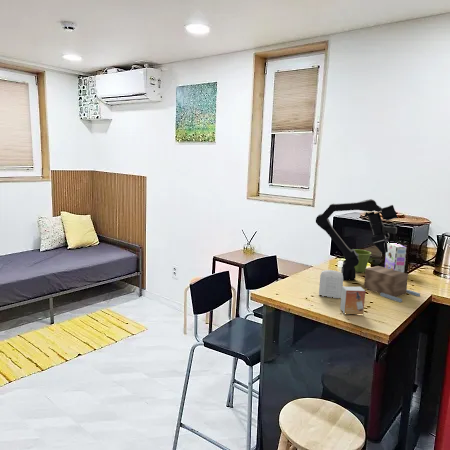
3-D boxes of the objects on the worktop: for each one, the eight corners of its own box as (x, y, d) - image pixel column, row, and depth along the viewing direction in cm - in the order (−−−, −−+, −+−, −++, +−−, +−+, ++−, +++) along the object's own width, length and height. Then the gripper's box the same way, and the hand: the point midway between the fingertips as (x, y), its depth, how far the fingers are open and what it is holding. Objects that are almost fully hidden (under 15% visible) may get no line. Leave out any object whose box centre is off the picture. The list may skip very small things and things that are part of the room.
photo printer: (342, 296, 178) (343, 270, 176) (341, 299, 174) (343, 272, 172) (319, 293, 181) (320, 268, 179) (318, 296, 177) (320, 270, 175)
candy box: (404, 276, 212) (407, 247, 209) (393, 276, 212) (396, 246, 209) (394, 269, 225) (396, 241, 223) (383, 269, 225) (386, 241, 223)
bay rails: (380, 295, 180) (380, 293, 180) (400, 289, 189) (400, 287, 189) (399, 302, 172) (400, 299, 172) (419, 295, 181) (420, 293, 181)
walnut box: (364, 288, 191) (365, 268, 189) (376, 284, 197) (378, 265, 195) (393, 298, 178) (395, 277, 176) (406, 294, 184) (408, 273, 182)
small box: (343, 315, 156) (345, 290, 155) (339, 310, 162) (341, 285, 160) (363, 315, 156) (365, 290, 155) (359, 310, 162) (360, 286, 160)
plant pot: (366, 275, 213) (368, 255, 211) (345, 271, 219) (346, 252, 217) (372, 270, 223) (373, 251, 221) (351, 266, 229) (352, 248, 227)
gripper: (390, 220, 184) (401, 251, 183) (394, 218, 200) (404, 247, 199) (367, 226, 189) (376, 257, 188) (372, 224, 206) (381, 252, 204)
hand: (385, 253), depth 195 cm, fingers open, 9 cm apart
